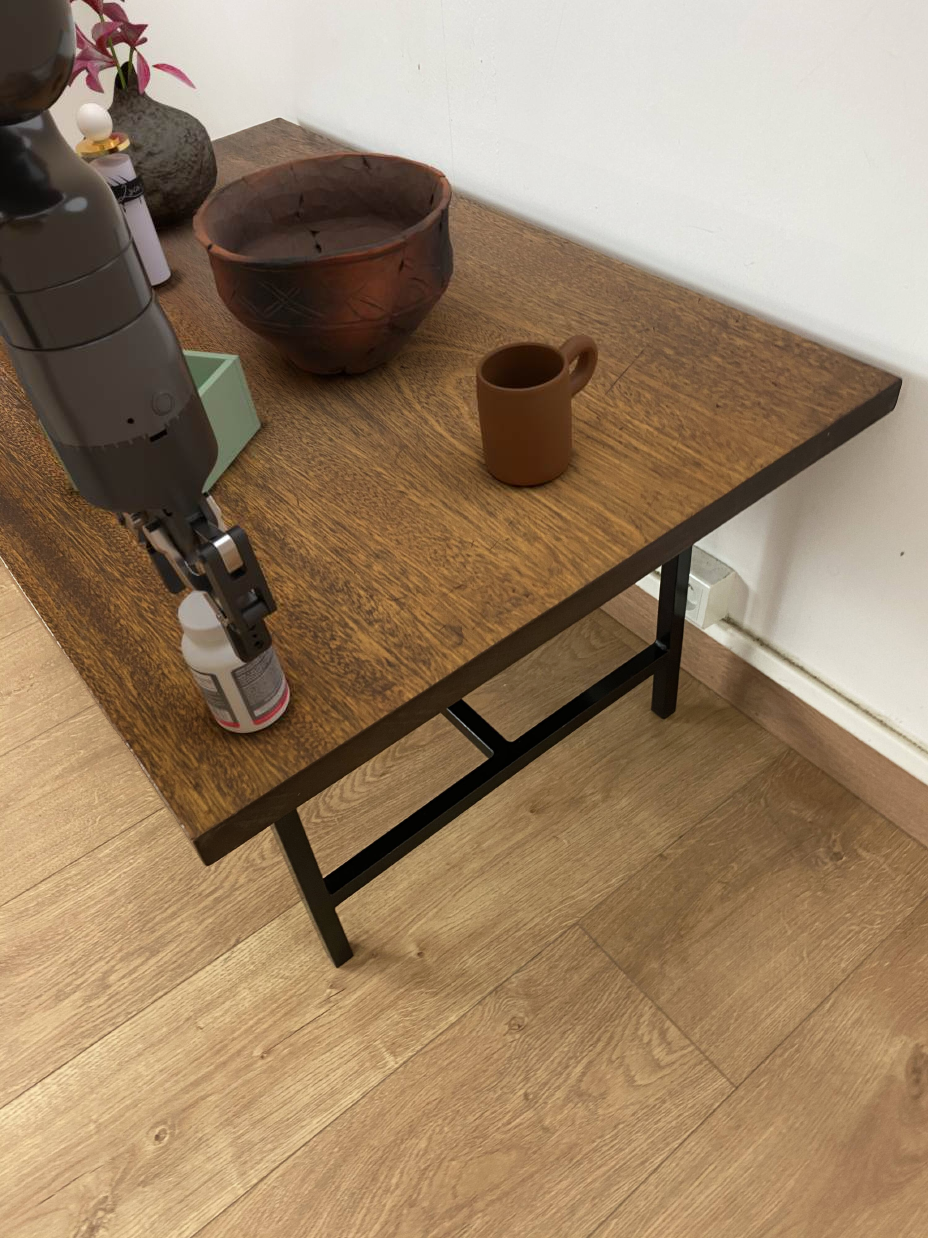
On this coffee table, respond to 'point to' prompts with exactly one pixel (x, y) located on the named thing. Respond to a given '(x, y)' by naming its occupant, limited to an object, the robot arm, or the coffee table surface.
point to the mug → (531, 406)
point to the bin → (218, 406)
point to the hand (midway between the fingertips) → (219, 617)
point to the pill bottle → (230, 672)
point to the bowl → (331, 255)
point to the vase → (149, 121)
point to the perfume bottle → (121, 183)
